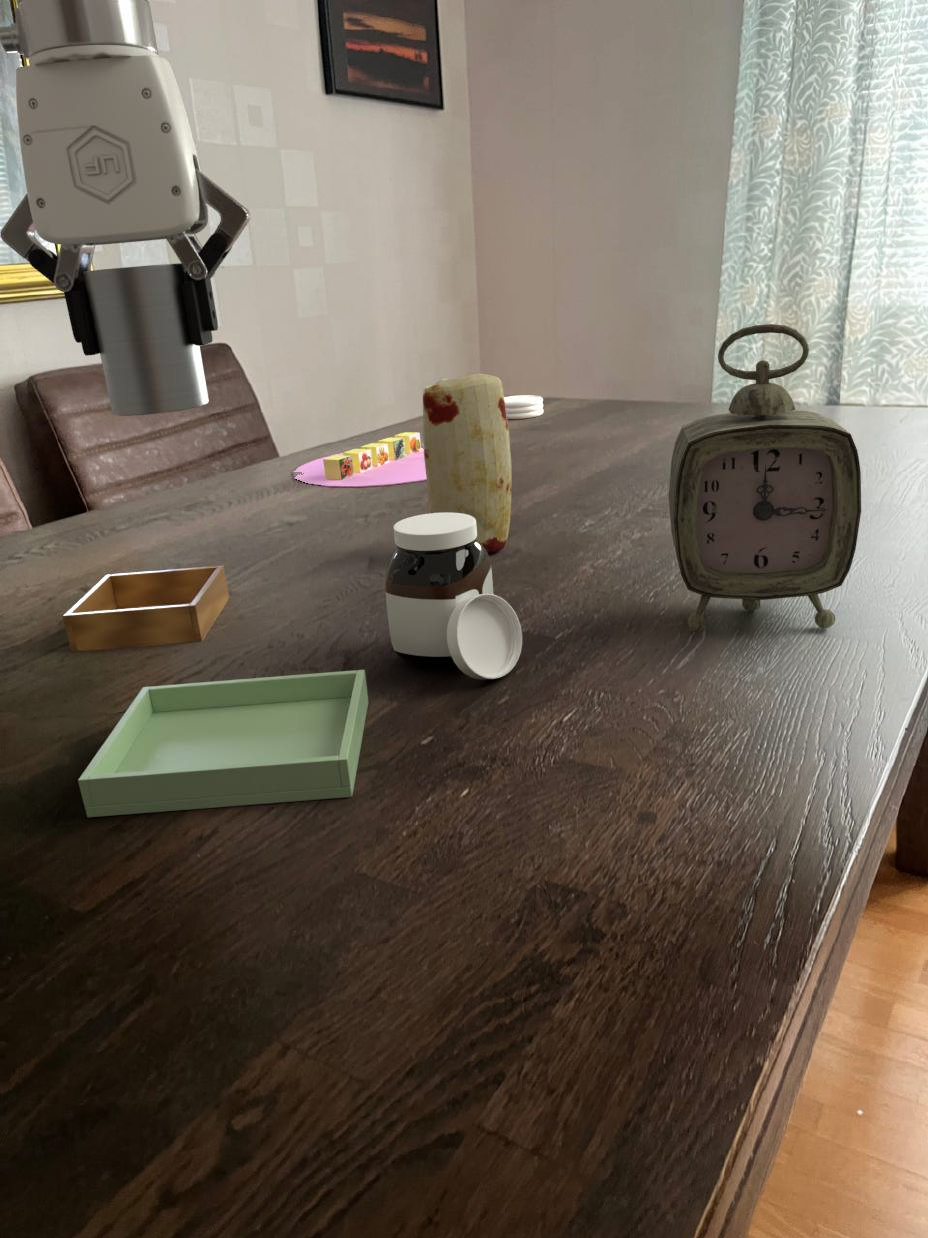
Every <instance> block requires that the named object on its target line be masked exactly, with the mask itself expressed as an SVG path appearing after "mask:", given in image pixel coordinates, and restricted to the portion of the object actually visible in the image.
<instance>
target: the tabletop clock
mask: <svg viewBox="0 0 928 1238" xmlns="http://www.w3.org/2000/svg"><path fill="white" fill-rule="evenodd" d="M759 334H783V335H786V336H788V337H791V338H792V339H794V340H796V341H797V342H798V343H799V345H800V346H801V347H802V348H801V349H802V354H801V357H800V358H799V359H797V360H796V361H795V362H793V363H792V364H790V365H787V366H784V367H781V368H779V369H778V368H775V369H770V363H769V361H767V360H765V359H763V360H759V361H757V363H756V364H755V370H742V369H737V368H734V367H732V366H731V365H729V364H727V363H726V361H725V352H726V351H727V349H728V348H729V347H730V346H731V345H732V344H733V343H735V341H737V340H739V339H742V338H744V337H747V336H752V335H759ZM809 347H810V346H809V344H808V341H807V339H806V337H805V336H804V335H803V334H802V333H800V332H799V331H798V330H797V329H795V328H793V327H790V326H787V325H785V324H775V323H774V324H773V323H769V324H755V325H751V326H747V327H746V326H745V327H743V328H740V329H738V330H737V331H735V332H733V333H731V334H730V335H729V336H728V337H727V338H726V339H725V340H724V341H723V342H722V344H721V345H720V347H719V350H718V354H717V361H718V364H719V366H720V368H721V369H722V370H724V371H725V372H726V373H727V374H728V375H729V376H732V377H735V378H739V379H741V380H750V381H755V383H750V384H747V385H745V386H743V387H741V388H740V389H739V390H737V392H736V393H735V394H734V396H733V398H732V399H731V401H730V405H729V406H728V413H721V414H720V413H719V414H714V415H707V416H704V417H701V418H700V417H699V418H697V419H695V420H692V421H691V422H689V423H686V424H683V425H681V428H680V430H679V432H678V435H677V437H676V439H675V442H674V446H673V451H672V456H671V461H670V462H671V463H670V471H669V472H670V473H669V484H668V485H669V486H668V507H669V519H670V520H669V521H670V530H671V531H670V532H671V536H672V541H673V546H674V550H675V556H676V559H677V564H678V569H679V571H680V576H681V579H682V580H683V582H684V584H685V586H686V589H687V591H690V592H691V593H695V594H698V595H701V596H700V598H699V601H698V606H697V607H696V608H697V609H696V612H695V611H694V612H691V613H689V614H688V615H687V616H686V619H685V625H686V628H688V629H689V630H690V631H692V632H699V631H701V630H702V629H703V628H704V626H705V625H706V624H705V623H706V620H705V617H704V615H703V613H704V612H705V610H706V608H707V606H708V604H709V602H710V600H711V598H715V599H729V600H730V599H731V600H741V606H742V608H743V609H744V610H745V611H747V612H749V613H753V612H755V611H757V610H759V609H760V607H761V601H765V600H766V601H767V600H779V599H787V598H788V599H789V598H800V597H807V598H808V599H809V601H810V603H811V604H812V605H813V607H814V609H815V610H816V613H815V615H814V622H815V624H816V626H817V627H819V628H821V629H829V628H831V627H832V626H833V625H834V623H835V621H836V616H835V613H834V612H833V611H832V610H830V609H826V608H824V607H823V605H822V601H821V599H820V596H819V594H823V593H827V592H829V591H831V590H834V589H837V588H839V587H841V586H843V583H844V581H845V580H846V578H847V577H848V574H849V572H850V570H851V567H852V564H853V561H854V558H855V553H856V549H857V542H858V536H859V529H860V522H861V515H862V472H861V465H860V464H861V463H860V457H859V450H858V448H857V446H856V443H855V441H854V438H853V435H852V434H851V433H850V432H849V431H848V430H846V429H845V428H844V427H842V426H841V425H840V424H839V423H837V422H836V421H835V420H833V418H831V417H828V416H825V415H823V414H819V413H817V412H814V411H813V412H812V411H809V410H808V411H807V410H796V406H795V404H794V400H793V398H792V396H791V394H790V393H789V392H788V390H787V389H785V388H784V387H783V386H782V385H780V384H779V383H774V382H770V380H773V379H778V378H782V377H785V376H787V375H789V374H792V373H795V372H796V371H797V370H799V368H800V367H802V366H803V365H804V364H805V362H806V361H807V359H808V357H809V354H810V353H809V352H810V348H809Z"/></svg>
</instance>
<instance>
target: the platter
mask: <svg viewBox="0 0 928 1238" xmlns="http://www.w3.org/2000/svg"><path fill="white" fill-rule="evenodd" d="M421 445H422V444H421V433H420V432H415V431H414V432H411V431H410V432H409V431H404V432H400V433H398V434H395V435H393V437H386V438H383V439H380V440H377V442H371V443H368V444H364V445H361V446H360V448H353V449H350V450H349V449H348V450H346V451H343V452H340V453H336V454H332V455H327V456H324V457H321V458H317V459H314V460H312V461H309V462H306V463H305V464H304V463H303V464H302V465H299V466H298V467H297V468H296V469H295V470H293V472H302V474H303V473H304V474H303V475H301V474H300V475H299V474H298V475H297V476H296V477H294V476H293V478H294V480H295V479H297V480H296V481H298V480H300V481H302V482H301V483H303V482H305V483H304V484H306V483H308V484H307V485H311V484H314V485H313V486H318V485H321V486H320V487H326V488H366V487H367V488H368V487H383V486H385V487H386V486H395V485H401V484H410V483H416V482H417V483H418V482H423V481H427V478H426V469H425V461H424V449H423V448H421ZM300 481H299V482H300Z"/></svg>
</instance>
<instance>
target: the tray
mask: <svg viewBox="0 0 928 1238" xmlns="http://www.w3.org/2000/svg"><path fill="white" fill-rule="evenodd" d="M366 677H367V676H366V670H365V669H358V670H354V669H353V670H343V671H341V670H340V671H330V672H317V673H304V674H292V675H278V676H277V675H276V676H266V677H255V678H254V677H253V678H243V679H242V678H241V679H230V680H215V681H205V682H191V683H178V684H164V685H155V686H154V685H153V686H142V687H141V689H140V691H139V692H138V693H137V695H136V697H135V698H134V699H133V701H132V702H131V704H130V705H129V707H128V708H127V709H126V710H125V712H124V714H123V715H122V716H121V718H120V719H119V720H118V722H117V724H115V726H114V728H113V729H112V731H111V732H110V734H109V735H108V736H107V738H106V739H105V741H104V742H103V744H102V745H101V747H99V749H98V751H97V752H96V754H95V756H93V758H92V760H91V761H90V762H89V764H88V765H87V767H86V768H85V769H84V771H83V772H82V773H81V775H80V777H79V778H78V780H77V781H78V782H77V783H78V786H79V791H80V794H81V799H82V803H83V807H84V810H85V814H86V817H87V818H98V817H99V818H100V817H112V816H113V817H114V816H126V815H137V814H150V813H151V814H152V813H162V812H163V813H164V812H165V813H166V812H176V811H178V812H179V811H191V810H202V809H215V808H216V809H217V808H227V807H228V808H229V807H241V806H253V805H254V806H255V805H266V804H267V805H268V804H279V803H292V802H293V803H294V802H306V801H315V800H316V801H318V800H319V801H320V800H330V799H343V798H345V799H346V798H352V797H353V794H354V790H355V782H356V777H357V771H358V766H359V759H360V753H361V748H362V742H363V737H364V731H365V730H364V729H365V724H366V718H367V713H368V709H369V708H368V707H369V694H368V686H367V678H366Z"/></svg>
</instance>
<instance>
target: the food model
mask: <svg viewBox="0 0 928 1238" xmlns="http://www.w3.org/2000/svg"><path fill="white" fill-rule="evenodd" d="M504 397H505V395H504V389H503V383H502V380H501V379H500V378H499V377H498V376H494V375H490V374H486V373H474V374H467V375H462V376H461V375H460V376H457V377H452V378H445V377H444V378H442V379H440V380H438V381H437V382H435V383H432V384H429V385H427V386H426V387H425V388H424V389H423V393H422V438H423V439H422V440H423V444H422V445H424V461H425V469H426V478H427V480H426V489H427V499H428V500H427V501H428V509H429V514H430V513H462V514H467V515H470V516H472V517H474V518H475V520H476V528H477V537H476V540H477V541H478V542H480V543H481V544H482V545H483V547H484V548H485V549H486V551H487V553H488V554H489V553H496V552H499V551H501V550H503V549H504V548H505V547H506V543H507V542H508V537H509V532H510V527H511V526H510V525H511V514H512V513H511V511H512V483H513V481H512V480H513V479H512V478H513V477H512V475H513V474H512V456H511V442H510V441H511V440H510V432H509V423H508V419H507V416H506V408H505V401H504Z"/></svg>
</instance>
